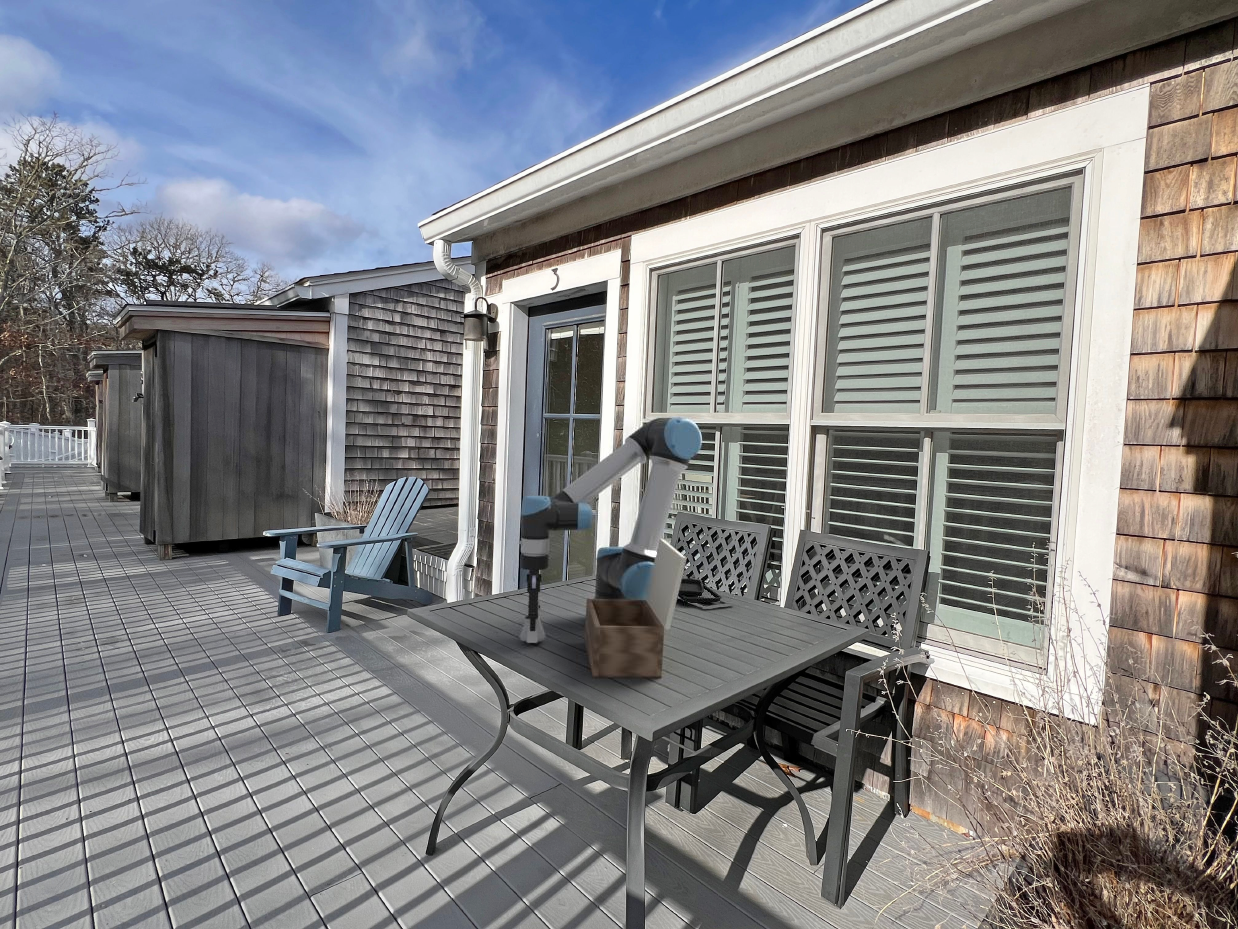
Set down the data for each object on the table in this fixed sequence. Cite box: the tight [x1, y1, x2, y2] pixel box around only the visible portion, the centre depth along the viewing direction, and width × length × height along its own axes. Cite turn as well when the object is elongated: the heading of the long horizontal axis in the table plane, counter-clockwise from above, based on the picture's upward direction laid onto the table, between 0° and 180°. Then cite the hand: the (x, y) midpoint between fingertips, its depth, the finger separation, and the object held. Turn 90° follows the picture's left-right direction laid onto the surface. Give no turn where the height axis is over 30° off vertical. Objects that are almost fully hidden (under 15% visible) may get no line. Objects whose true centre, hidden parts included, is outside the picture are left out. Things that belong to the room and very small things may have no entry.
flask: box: [518, 600, 547, 642], centre depth 176 cm, size 7×7×10 cm
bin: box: [584, 598, 665, 679], centre depth 167 cm, size 16×26×12 cm, turn 7°
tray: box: [678, 577, 723, 606], centre depth 233 cm, size 30×23×5 cm
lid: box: [645, 538, 687, 631], centre depth 167 cm, size 17×28×1 cm
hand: (532, 637), depth 176 cm, fingers closed on flask, 7 cm apart
